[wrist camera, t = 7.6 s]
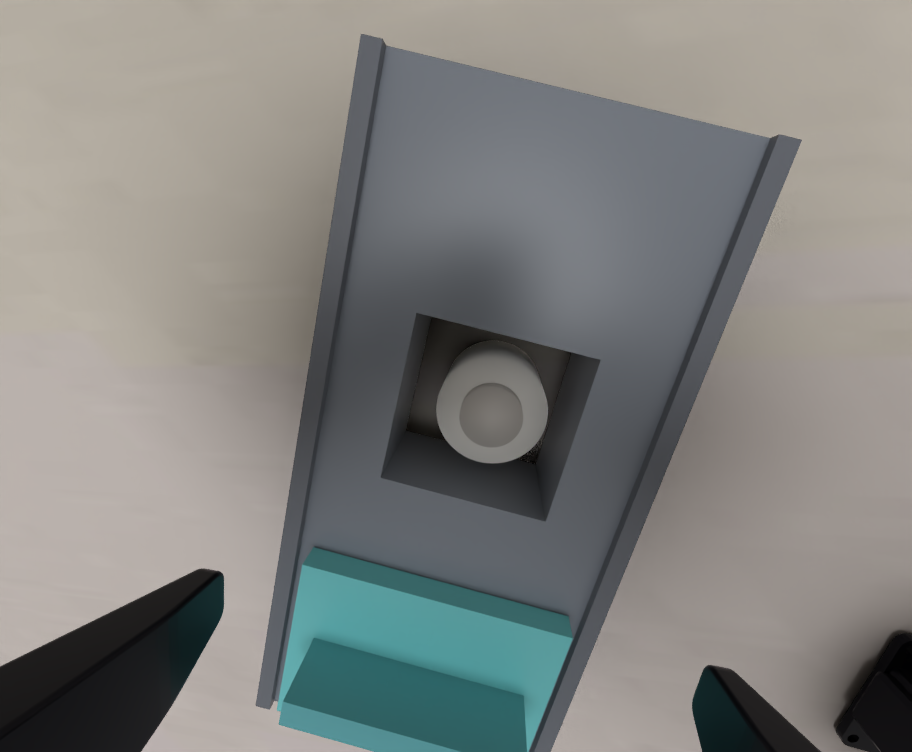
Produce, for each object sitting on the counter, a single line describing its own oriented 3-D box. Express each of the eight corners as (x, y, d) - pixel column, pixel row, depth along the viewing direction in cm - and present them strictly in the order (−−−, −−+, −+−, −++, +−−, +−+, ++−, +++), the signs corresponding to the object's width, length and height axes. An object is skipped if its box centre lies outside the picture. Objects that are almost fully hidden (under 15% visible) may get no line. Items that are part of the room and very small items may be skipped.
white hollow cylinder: (552, 354, 19) (565, 379, 15) (524, 440, 20) (529, 484, 16) (460, 329, 19) (449, 347, 15) (437, 415, 20) (421, 453, 16)
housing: (715, 173, 17) (801, 140, 12) (529, 677, 23) (536, 785, 18) (399, 96, 17) (361, 33, 12) (304, 615, 23) (255, 705, 19)
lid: (568, 616, 17) (585, 707, 13) (516, 751, 19) (521, 861, 15) (313, 547, 17) (267, 619, 14) (288, 687, 19) (241, 781, 15)
